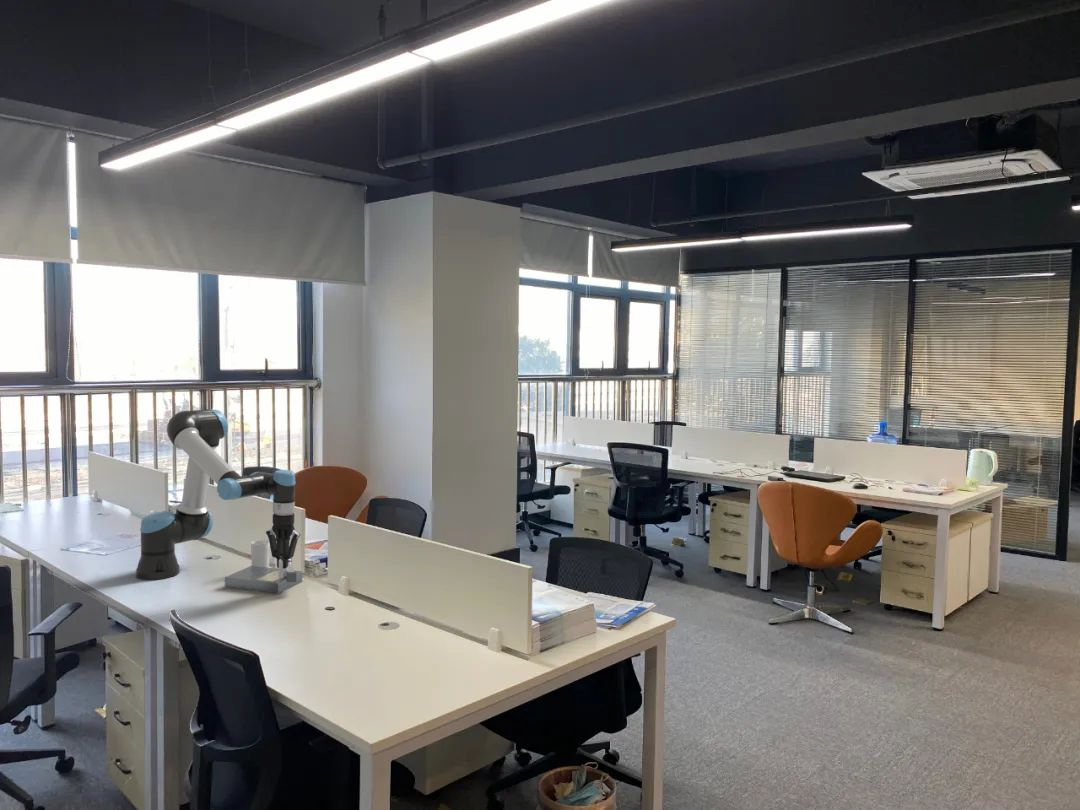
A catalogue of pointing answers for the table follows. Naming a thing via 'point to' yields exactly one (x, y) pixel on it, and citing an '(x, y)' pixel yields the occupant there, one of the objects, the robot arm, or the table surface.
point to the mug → (260, 553)
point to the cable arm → (290, 572)
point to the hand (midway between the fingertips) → (282, 576)
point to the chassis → (260, 580)
